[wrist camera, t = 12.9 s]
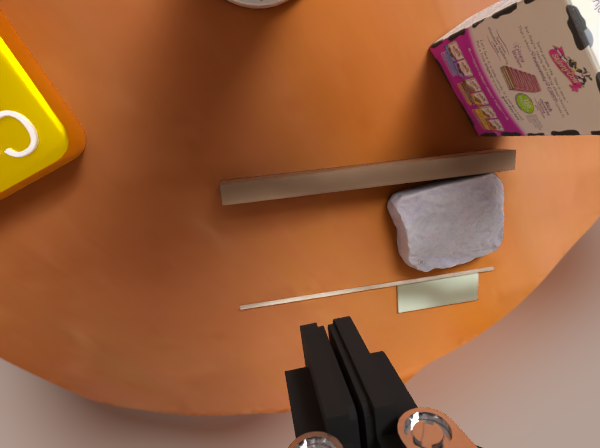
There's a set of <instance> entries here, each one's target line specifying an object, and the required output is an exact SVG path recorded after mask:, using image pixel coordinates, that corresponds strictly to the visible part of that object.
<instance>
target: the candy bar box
mask: <svg viewBox="0 0 600 448" xmlns="http://www.w3.org/2000/svg"><path fill="white" fill-rule="evenodd" d="M429 48H430V50H431V52H432V54H433V56H434V57H435V59H436V61H437V63H438V65H439V66H440V68H441V70H442V71H443V73H444V75H445V77H446V78H447V80H448V82H449V84H450V85H451V87H452V89H453V91H454V92H455V94H456V96H457V98H458V100H459V101H460V103H461V105H462V107H463V109H464V110H465V112H466V114H467V116H468V118H469V119H470V121H471V123H472V125H473V126H474V128H475V130H476V132H477V134H478V135H479V136H535V135H540V136H541V135H544V136H551V135H554V136H555V135H600V0H501V1H499V2H497V3H495V4H493V5H491V6H489V7H488V8H486V9H484V10H482V11H480V12H478V13H477V14H475V15H473V16H471V17H469V18H467V19H466V20H464V21H463V22H462V23H461V24H459V25H458V26H456V27H455V28H454V29H452V30H451V31H450V32H448V33H447V34H446V35H444V36H443V37H441V38H440V39H439V40H437V41H436V42H435V43H433V44H432V45H431V46H430V47H429Z"/></svg>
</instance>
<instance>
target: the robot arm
mask: <svg viewBox="0 0 600 448" xmlns="http://www.w3.org/2000/svg"><path fill="white" fill-rule="evenodd" d="M227 1H229V2H231V3H234V4H236V5H239V6H243V7H248V8H269V7H273V6H278V5H280V4H282V3H284V2H286V1H289V0H263V1H260V0H227ZM300 331H301V338H302V345H303V352H304V358H305V365H306V367H304V368H299V369H294V370H289V371H285V376H286V382H287V388H288V394H289V400H290V406H291V412H292V418H293V424H294V430H295V436H296V439H295V440H294V441H293V442H292V443H291V444H290V446H289V447H288V448H481V447H479V446H476V445H475V444H474V443H473V442H472V441H471V440H470V439H469V438H468V437H467V435H466V434H465V433H464V432H463V431H462V430H461V429H460V428H459V427H458V426H457V425H456V424H455V422H454V421H453V420H452V419H451V418H449V417H448V416H447V415H446V414H444V413H442V412H440V411H438V410H435V409H431V408H421V407H420V408H418V407H417V405H416V404H415V403H414V400H413V399H412V397H411V396H410V394H409V392H408V391H407V389H406V387H405V386H404V384H403V382H402V381H401V379H400V377H399V376H398V374H397V372H396V371H395V369H394V367H393V366H392V364H391V362H390V361H389V359H388V357H387V356H386V354H385V353H384V352H383V351H380V352H375V353H371V354H370V353H369V351H368V349H367V347H366V345H365V343H364V341H363V340H362V338H361V336H360V334H359V332H358V330H357V329H356V327H355V325H354V323H353V321H352V319H351V318H350V316H347V317H342V318H337V319H333V324H330V325H328V333H329V339H328V336H327V334H326V331H325V329H324V326H320V327H318V326H317V323H312V324H307V325H302V326H300Z"/></svg>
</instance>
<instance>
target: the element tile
mask: <svg viewBox="0 0 600 448" xmlns="http://www.w3.org/2000/svg"><path fill="white" fill-rule="evenodd" d="M85 146H86V137H85V132H84V130H83V128H82V126H81V125H80V123H79V122H78V121H77V119H76V118H75V116H74V115H73V113H72V112H71V110H70V109H69V108H68V106H67V105H66V103H65V102H64V100H63V99H62V97H61V96H60V95H59V93H58V92H57V90H56V89H55V87H54V86H53V84H52V83H51V82H50V80H49V79H48V77H47V76H46V74H45V73H44V72H43V70H42V69H41V67H40V66H39V64H38V63H37V61H36V60H35V59H34V57H33V56H32V54H31V53H30V51H29V50H28V48H27V47H26V46H25V44H24V43H23V41H22V40H21V38H20V37H19V35H18V34H17V33H16V31H15V30H14V28H13V27H12V25H11V24H10V22H9V21H8V20H7V18H6V17H5V15H4V14H3V12H2V11H1V10H0V201H1V200H2V199H4V198H6V197H8V196H10V195H11V194H13V193H15V192H17V191H18V190H20V189H22V188H24V187H26V186H27V185H29V184H31V183H33V182H35V181H36V180H38V179H40V178H42V177H44V176H45V175H47V174H49V173H51V172H52V171H54V170H56V169H58V168H60V167H61V166H63V165H65V164H67V163H69V162H70V161H72V160H74V159H76V158H77V157H78V156H79V155H81V153H82V152H83V150H84V149H85Z"/></svg>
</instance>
